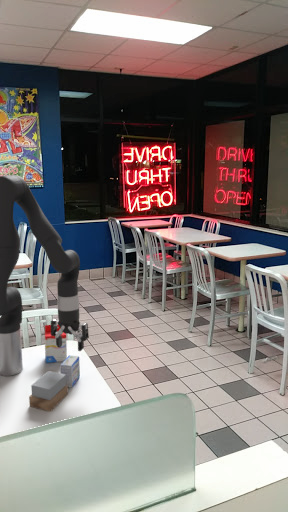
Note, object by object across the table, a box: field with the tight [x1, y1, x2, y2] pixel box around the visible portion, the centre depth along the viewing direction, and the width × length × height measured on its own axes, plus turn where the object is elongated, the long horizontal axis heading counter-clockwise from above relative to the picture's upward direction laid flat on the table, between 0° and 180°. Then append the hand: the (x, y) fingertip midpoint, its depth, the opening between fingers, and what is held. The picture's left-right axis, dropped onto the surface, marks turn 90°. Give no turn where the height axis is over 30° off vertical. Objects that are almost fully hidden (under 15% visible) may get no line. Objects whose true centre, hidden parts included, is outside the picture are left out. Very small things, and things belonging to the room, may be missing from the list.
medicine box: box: [59, 355, 81, 388], centre depth 146 cm, size 8×4×9 cm, turn 168°
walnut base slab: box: [28, 384, 69, 412], centre depth 135 cm, size 8×11×4 cm
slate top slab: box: [31, 370, 66, 400], centre depth 134 cm, size 7×10×4 cm
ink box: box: [44, 324, 68, 364], centre depth 162 cm, size 8×5×15 cm, turn 106°
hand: (70, 348), depth 144 cm, fingers open, 8 cm apart
